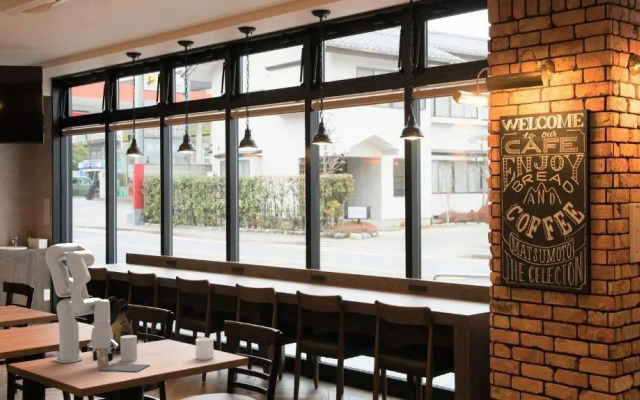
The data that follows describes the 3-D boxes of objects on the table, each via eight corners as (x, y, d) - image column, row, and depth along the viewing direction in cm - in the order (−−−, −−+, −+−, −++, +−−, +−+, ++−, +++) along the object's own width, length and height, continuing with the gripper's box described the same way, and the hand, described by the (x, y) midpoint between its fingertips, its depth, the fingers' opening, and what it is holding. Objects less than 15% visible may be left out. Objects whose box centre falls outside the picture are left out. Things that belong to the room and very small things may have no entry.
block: (97, 367, 386) (96, 346, 385) (101, 365, 389) (100, 344, 389) (104, 367, 385) (104, 346, 385) (108, 365, 389) (108, 345, 388)
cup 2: (201, 360, 396) (201, 341, 396) (191, 358, 404) (190, 339, 404) (217, 358, 403) (217, 339, 403) (206, 355, 410) (206, 336, 410)
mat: (98, 370, 377) (98, 369, 377) (112, 364, 390) (112, 363, 390) (137, 372, 372) (137, 371, 372) (149, 365, 386) (149, 364, 386)
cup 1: (132, 361, 397) (132, 338, 397) (118, 361, 398) (117, 337, 398) (139, 358, 405) (139, 335, 404) (125, 358, 406) (124, 335, 406)
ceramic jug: (124, 347, 435) (123, 293, 435) (138, 351, 423) (137, 295, 423) (96, 352, 423) (95, 296, 423) (109, 356, 412) (108, 299, 412)
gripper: (82, 325, 385) (83, 362, 385) (114, 326, 381) (115, 362, 381) (90, 323, 392) (90, 358, 393) (122, 323, 389) (122, 359, 389)
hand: (102, 360), depth 387 cm, fingers open, 7 cm apart
